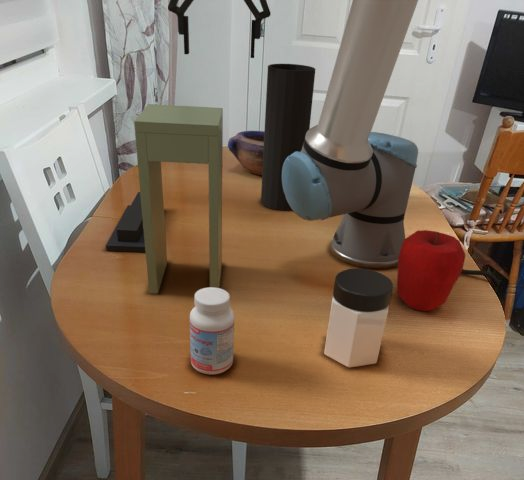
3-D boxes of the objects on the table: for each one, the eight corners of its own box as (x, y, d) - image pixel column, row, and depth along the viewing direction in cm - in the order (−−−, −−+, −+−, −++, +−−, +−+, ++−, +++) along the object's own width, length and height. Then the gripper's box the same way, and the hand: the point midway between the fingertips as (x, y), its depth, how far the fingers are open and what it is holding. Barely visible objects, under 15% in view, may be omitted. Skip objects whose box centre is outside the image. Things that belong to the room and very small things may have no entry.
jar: (390, 352, 79) (407, 283, 72) (360, 375, 74) (375, 303, 67) (343, 328, 84) (354, 261, 77) (311, 349, 79) (321, 278, 72)
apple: (378, 294, 94) (393, 222, 86) (425, 286, 97) (443, 217, 89) (411, 324, 86) (430, 249, 78) (461, 315, 89) (485, 242, 81)
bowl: (306, 170, 152) (310, 134, 146) (275, 185, 139) (277, 147, 133) (255, 158, 159) (256, 123, 153) (221, 171, 146) (221, 134, 141)
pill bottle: (182, 361, 74) (178, 293, 68) (214, 345, 78) (214, 279, 71) (209, 382, 71) (208, 312, 64) (242, 364, 75) (244, 296, 68)
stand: (159, 262, 99) (147, 103, 83) (221, 264, 100) (222, 107, 83) (149, 293, 90) (133, 121, 73) (218, 295, 90) (218, 125, 74)
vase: (309, 208, 127) (324, 70, 109) (272, 212, 123) (281, 71, 106) (289, 194, 134) (300, 63, 117) (254, 198, 131) (260, 63, 113)
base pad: (128, 210, 120) (127, 205, 119) (162, 211, 120) (162, 206, 120) (106, 250, 102) (105, 245, 101) (147, 252, 102) (146, 247, 102)
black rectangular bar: (139, 202, 121) (138, 191, 120) (156, 203, 121) (155, 192, 120) (117, 241, 103) (116, 229, 102) (138, 242, 103) (136, 230, 102)
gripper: (286, -71, 99) (278, 56, 111) (154, -80, 98) (161, 49, 110) (288, -74, 93) (280, 61, 105) (148, -83, 91) (156, 54, 104)
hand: (219, 55), depth 107 cm, fingers open, 13 cm apart
